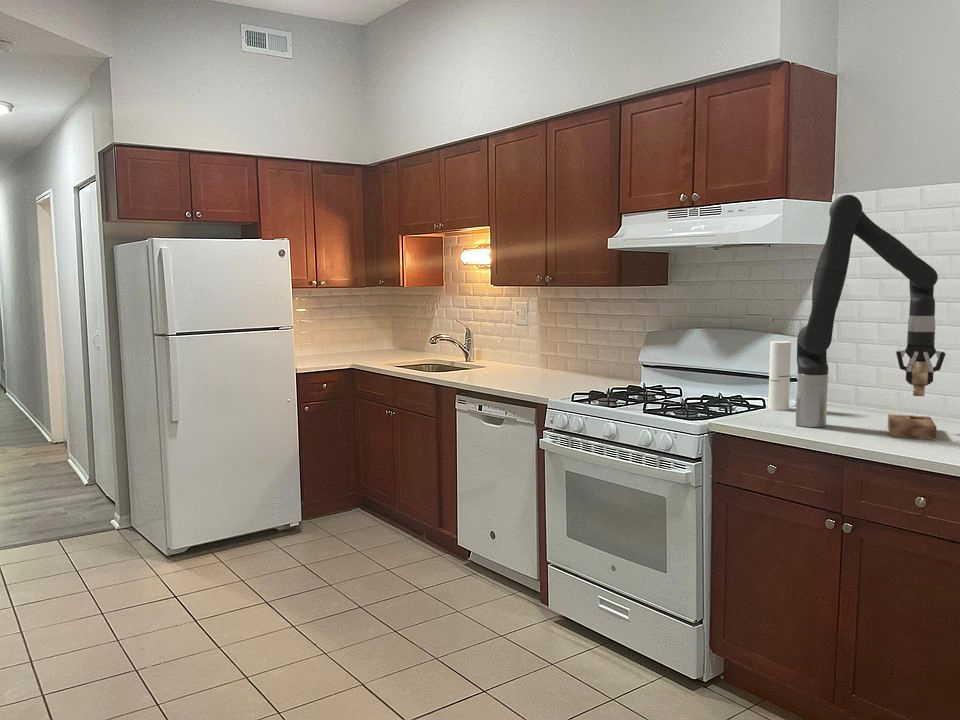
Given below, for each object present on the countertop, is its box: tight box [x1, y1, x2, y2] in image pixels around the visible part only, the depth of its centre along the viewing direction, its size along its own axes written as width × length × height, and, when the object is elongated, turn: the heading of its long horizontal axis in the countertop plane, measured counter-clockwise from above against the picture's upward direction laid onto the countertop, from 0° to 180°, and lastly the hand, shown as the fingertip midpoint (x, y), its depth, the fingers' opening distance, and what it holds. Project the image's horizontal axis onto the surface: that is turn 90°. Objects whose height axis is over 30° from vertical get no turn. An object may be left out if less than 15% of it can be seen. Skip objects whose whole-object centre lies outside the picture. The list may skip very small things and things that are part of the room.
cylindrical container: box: [767, 340, 792, 411], centre depth 291 cm, size 7×7×25 cm
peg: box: [910, 361, 929, 397], centre depth 249 cm, size 5×5×11 cm
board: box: [887, 413, 937, 440], centre depth 247 cm, size 12×18×4 cm, turn 156°
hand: (919, 383), depth 249 cm, fingers closed on peg, 4 cm apart
